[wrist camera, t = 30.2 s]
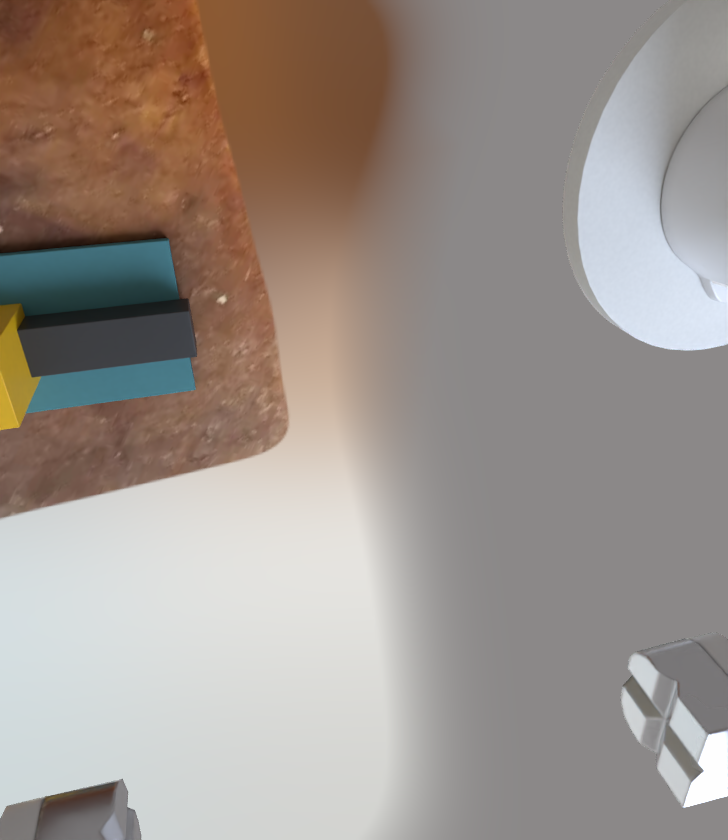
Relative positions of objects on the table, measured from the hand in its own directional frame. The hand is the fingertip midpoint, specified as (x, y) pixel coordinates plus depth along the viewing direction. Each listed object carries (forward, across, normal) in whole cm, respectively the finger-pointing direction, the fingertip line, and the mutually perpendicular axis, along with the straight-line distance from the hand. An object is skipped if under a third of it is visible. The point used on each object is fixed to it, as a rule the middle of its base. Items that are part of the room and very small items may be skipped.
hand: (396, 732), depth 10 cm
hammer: (+34, +12, +5) cm, 37 cm away
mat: (+35, +11, +5) cm, 37 cm away
